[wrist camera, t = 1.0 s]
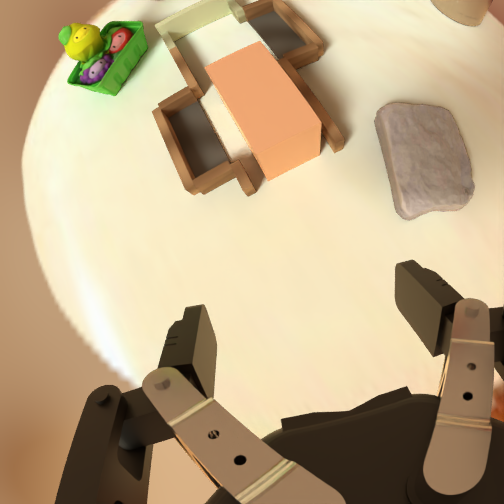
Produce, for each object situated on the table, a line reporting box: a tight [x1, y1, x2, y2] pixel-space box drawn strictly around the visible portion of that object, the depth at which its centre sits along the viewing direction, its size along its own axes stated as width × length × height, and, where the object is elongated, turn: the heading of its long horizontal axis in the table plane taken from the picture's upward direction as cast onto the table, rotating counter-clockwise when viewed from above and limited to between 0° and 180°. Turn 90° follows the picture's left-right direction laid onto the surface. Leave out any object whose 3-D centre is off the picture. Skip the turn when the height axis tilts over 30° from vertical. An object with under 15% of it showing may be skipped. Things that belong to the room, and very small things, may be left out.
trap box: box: [152, 0, 345, 196], centre depth 32 cm, size 26×21×2 cm
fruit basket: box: [59, 21, 148, 96], centre depth 31 cm, size 11×9×11 cm
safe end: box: [155, 0, 231, 41], centre depth 33 cm, size 1×11×4 cm, turn 116°
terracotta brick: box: [204, 41, 321, 181], centre depth 28 cm, size 11×6×8 cm, turn 27°
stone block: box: [374, 103, 475, 220], centre depth 28 cm, size 12×5×10 cm
